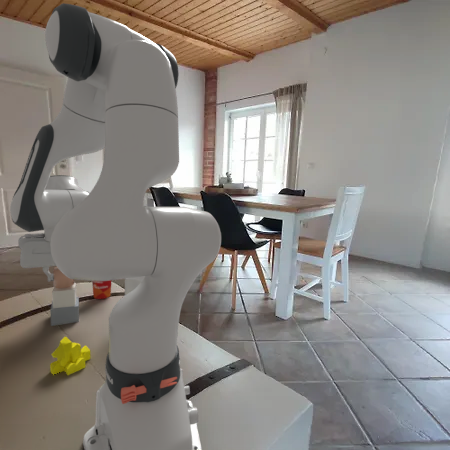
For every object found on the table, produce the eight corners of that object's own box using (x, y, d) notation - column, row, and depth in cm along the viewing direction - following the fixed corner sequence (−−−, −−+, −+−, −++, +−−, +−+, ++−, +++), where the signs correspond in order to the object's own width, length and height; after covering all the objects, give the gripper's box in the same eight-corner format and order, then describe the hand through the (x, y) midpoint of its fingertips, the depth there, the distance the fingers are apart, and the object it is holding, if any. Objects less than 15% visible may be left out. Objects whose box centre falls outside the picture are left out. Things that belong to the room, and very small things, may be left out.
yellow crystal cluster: (94, 363, 65) (94, 332, 64) (57, 380, 59) (55, 347, 58) (83, 352, 69) (83, 323, 68) (46, 367, 63) (45, 335, 61)
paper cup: (85, 298, 98) (84, 259, 95) (100, 290, 105) (100, 254, 103) (103, 302, 96) (103, 262, 93) (118, 294, 103) (118, 257, 101)
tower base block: (78, 322, 82) (78, 306, 82) (50, 326, 79) (50, 309, 78) (78, 311, 89) (78, 296, 88) (53, 315, 85) (52, 299, 85)
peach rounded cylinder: (74, 286, 81) (73, 270, 80) (53, 288, 79) (52, 271, 78) (74, 280, 86) (73, 264, 85) (54, 282, 83) (53, 266, 82)
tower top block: (74, 306, 82) (74, 289, 81) (52, 308, 79) (52, 291, 79) (76, 298, 87) (76, 282, 86) (55, 300, 84) (55, 284, 84)
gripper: (15, 236, 72) (18, 287, 74) (102, 234, 81) (102, 279, 84) (20, 231, 78) (22, 279, 80) (100, 230, 87) (101, 272, 89)
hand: (64, 279), depth 82 cm, fingers closed on peach rounded cylinder, 5 cm apart
